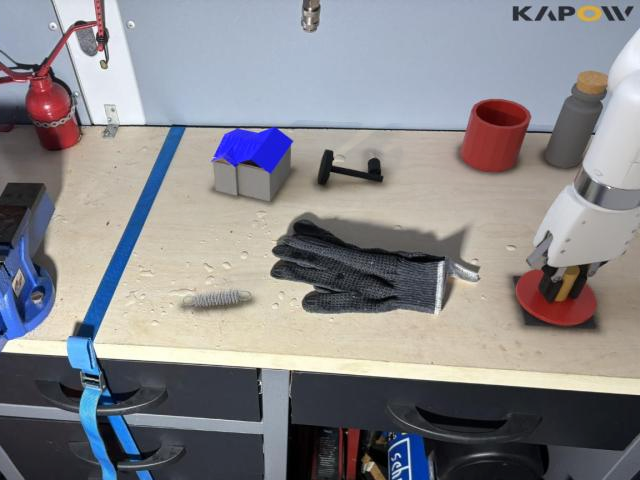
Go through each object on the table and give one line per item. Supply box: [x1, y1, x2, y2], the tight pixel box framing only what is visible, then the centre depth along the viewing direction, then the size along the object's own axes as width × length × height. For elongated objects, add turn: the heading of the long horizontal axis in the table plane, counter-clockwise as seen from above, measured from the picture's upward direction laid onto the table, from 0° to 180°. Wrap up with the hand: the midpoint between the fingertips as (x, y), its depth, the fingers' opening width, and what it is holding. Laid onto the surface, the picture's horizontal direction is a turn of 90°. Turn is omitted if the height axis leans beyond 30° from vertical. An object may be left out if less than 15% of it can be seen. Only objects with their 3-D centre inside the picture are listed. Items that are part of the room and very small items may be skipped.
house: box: [210, 126, 294, 202], centre depth 103 cm, size 10×11×8 cm
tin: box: [460, 98, 532, 173], centre depth 104 cm, size 9×9×8 cm
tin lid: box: [515, 265, 598, 325], centre depth 81 cm, size 10×10×6 cm
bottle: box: [543, 70, 608, 169], centre depth 100 cm, size 6×6×15 cm
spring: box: [181, 289, 252, 308], centre depth 86 cm, size 10×2×2 cm, turn 95°
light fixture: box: [317, 148, 385, 186], centre depth 105 cm, size 6×11×13 cm
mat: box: [512, 275, 597, 330], centre depth 83 cm, size 9×9×1 cm
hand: (557, 292), depth 82 cm, fingers closed on tin lid, 2 cm apart
